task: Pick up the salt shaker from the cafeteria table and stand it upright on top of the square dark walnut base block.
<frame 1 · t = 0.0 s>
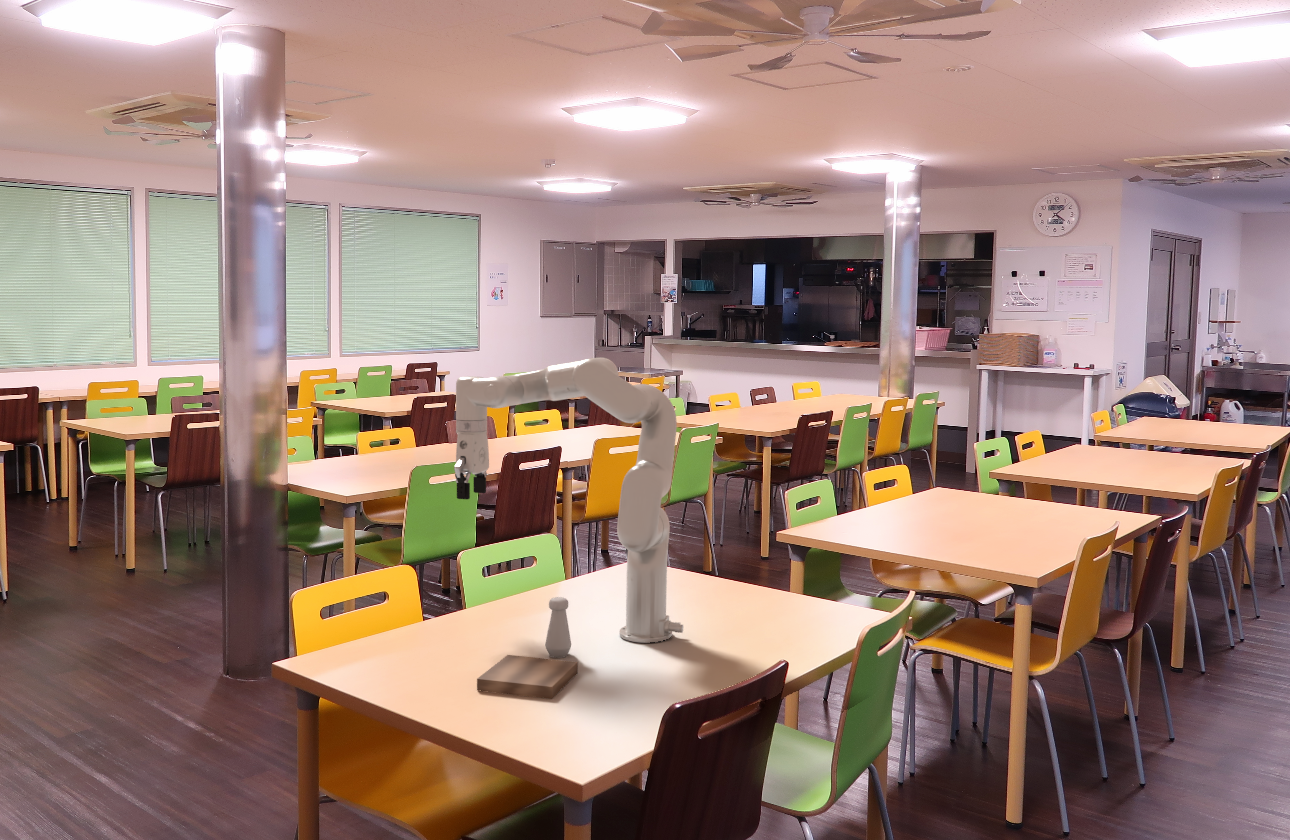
hand: (471, 495, 256), 31 cm above the table, tool pointing down, fingers open, 9 cm apart
salt shaker: (558, 656, 232), on the table
walnut base: (528, 684, 215), on the table
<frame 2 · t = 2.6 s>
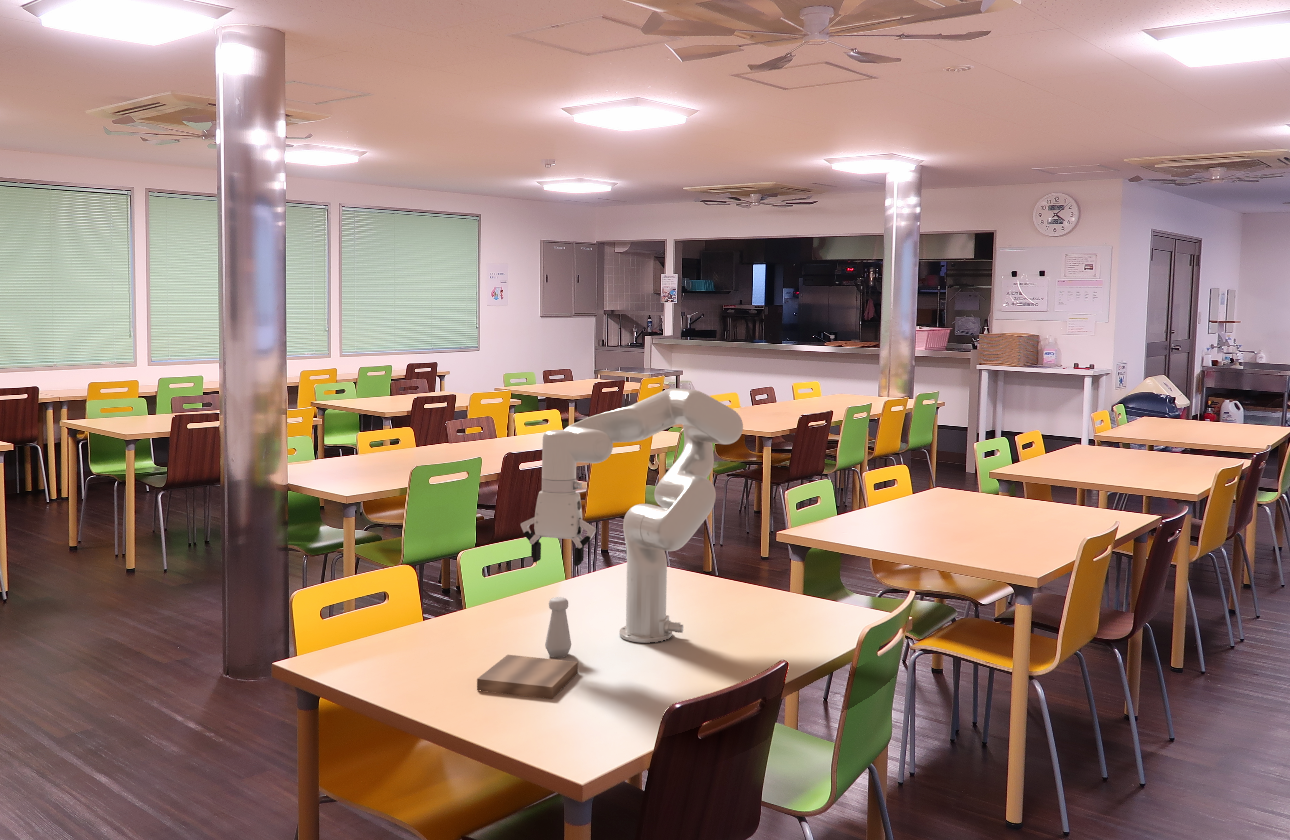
hand: (557, 562, 230), 21 cm above the table, tool pointing down, fingers open, 9 cm apart
nothing on the table moved.
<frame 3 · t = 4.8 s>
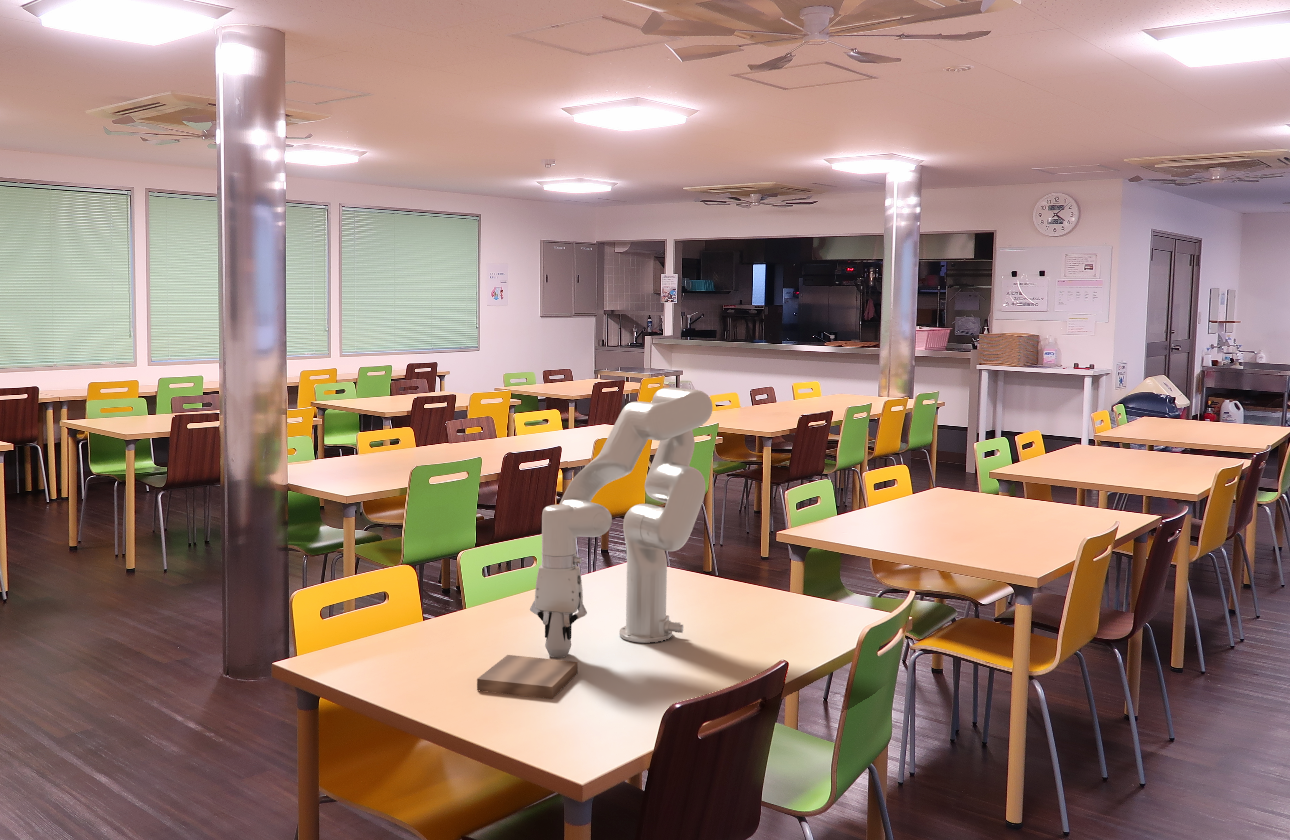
hand: (558, 641, 232), 3 cm above the table, tool pointing down, fingers closed on salt shaker, 3 cm apart
salt shaker: (558, 656, 232), on the table, touching gripper
everything else where it was.
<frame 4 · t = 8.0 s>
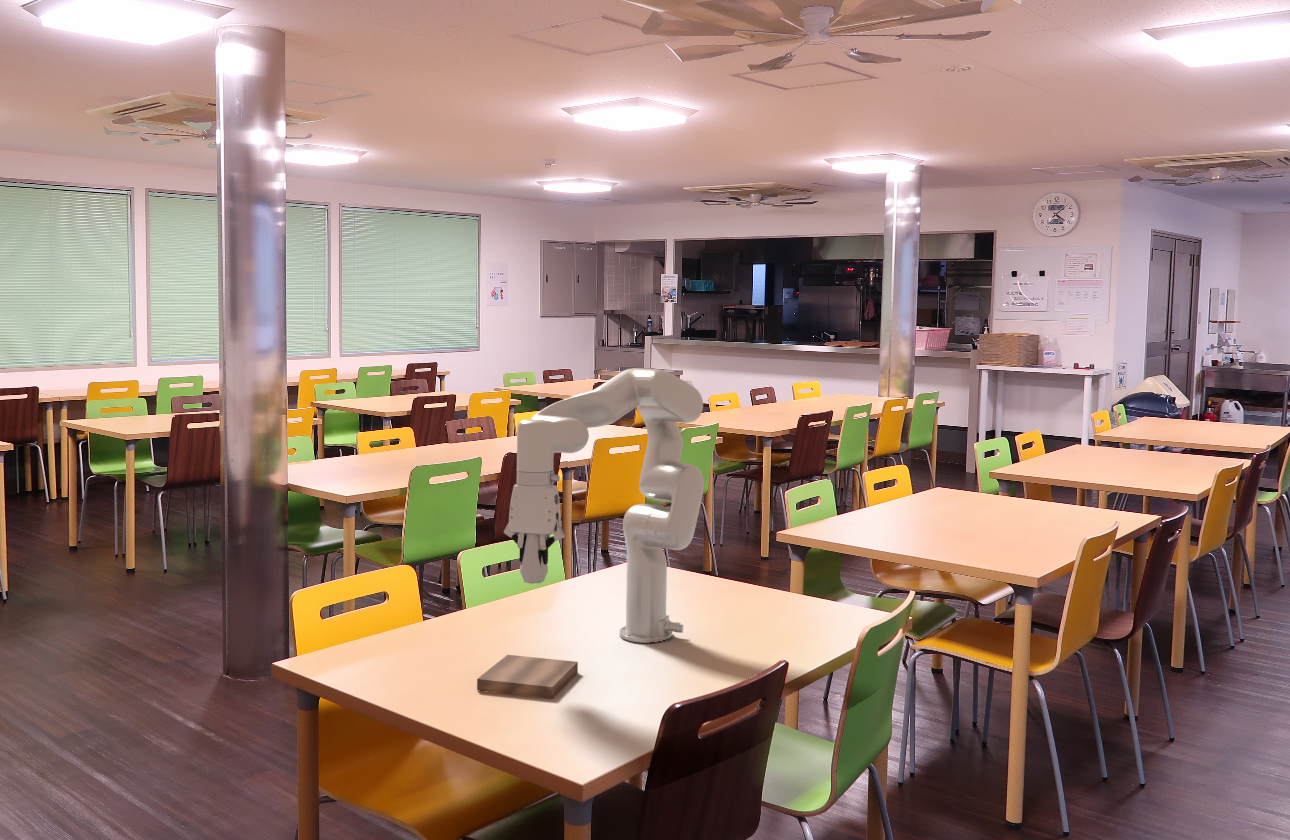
hand: (533, 566, 215), 24 cm above the table, tool pointing down, fingers closed on salt shaker, 3 cm apart
salt shaker: (533, 582, 216), point 20 cm above the table, touching gripper
everything else where it was.
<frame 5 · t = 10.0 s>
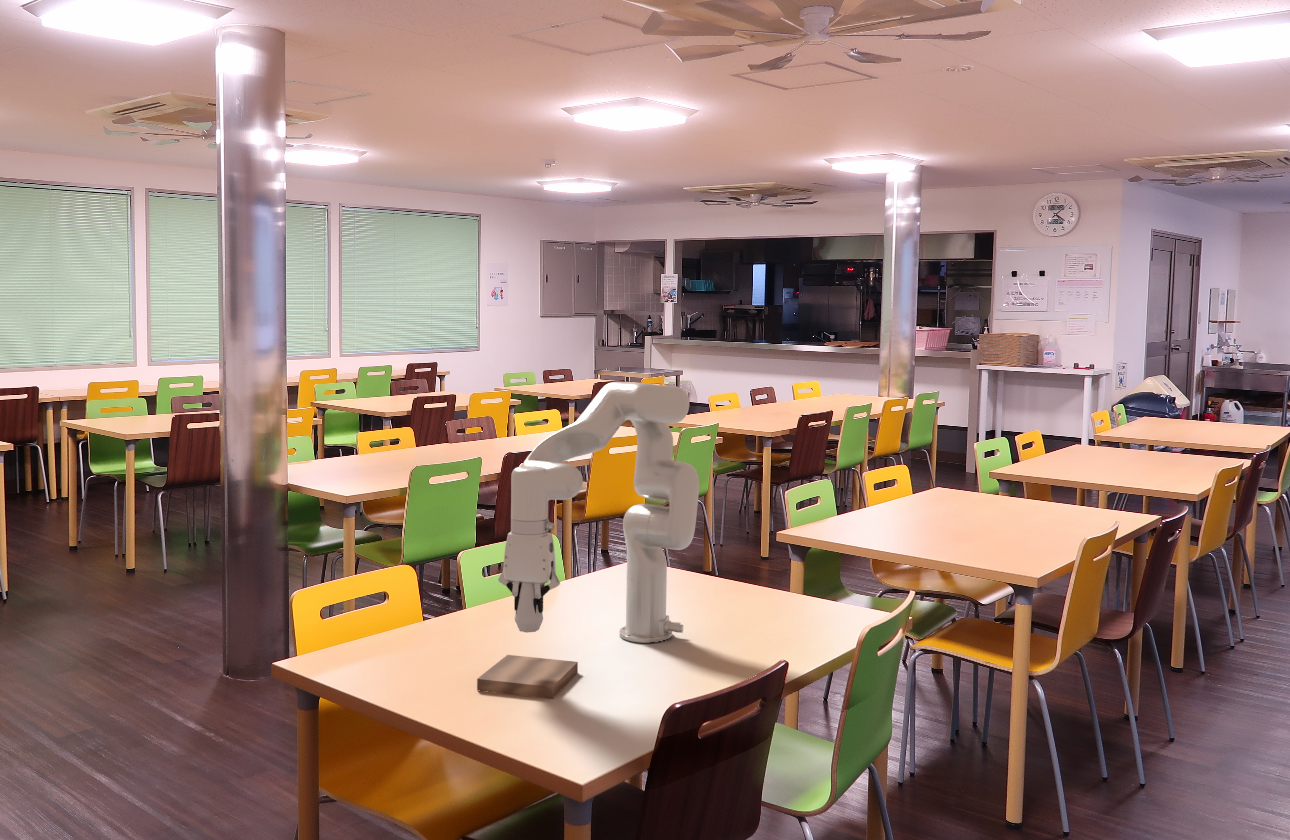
hand: (528, 614, 213), 14 cm above the table, tool pointing down, fingers closed on salt shaker, 3 cm apart
salt shaker: (528, 630, 214), point 11 cm above the table, touching gripper
everything else where it was.
when the fingers open (8 cm above the table, at t = 11.5 s): salt shaker drops 2 cm, point 2 cm above the table.
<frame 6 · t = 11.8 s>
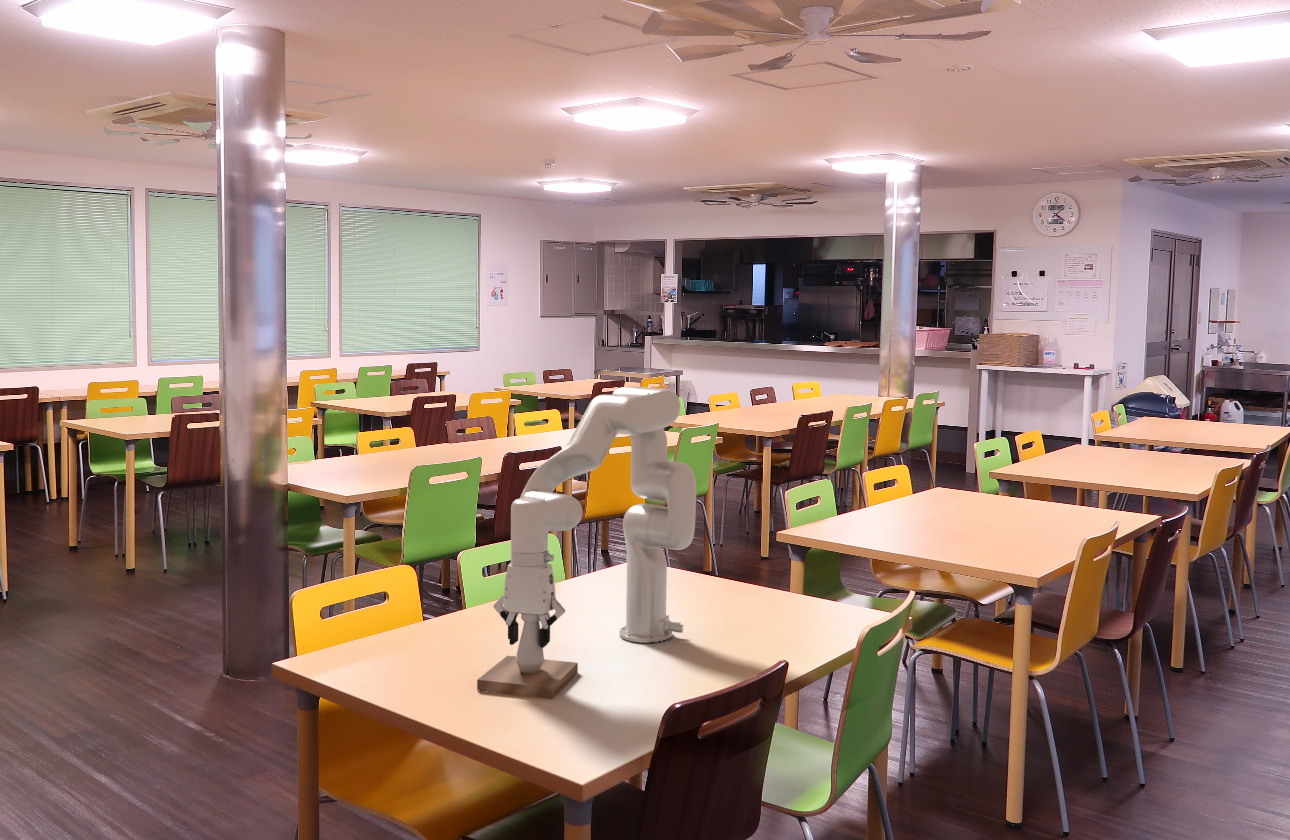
hand: (528, 643, 214), 8 cm above the table, tool pointing down, fingers open, 6 cm apart
salt shaker: (529, 671, 215), point 2 cm above the table
everything else where it was.
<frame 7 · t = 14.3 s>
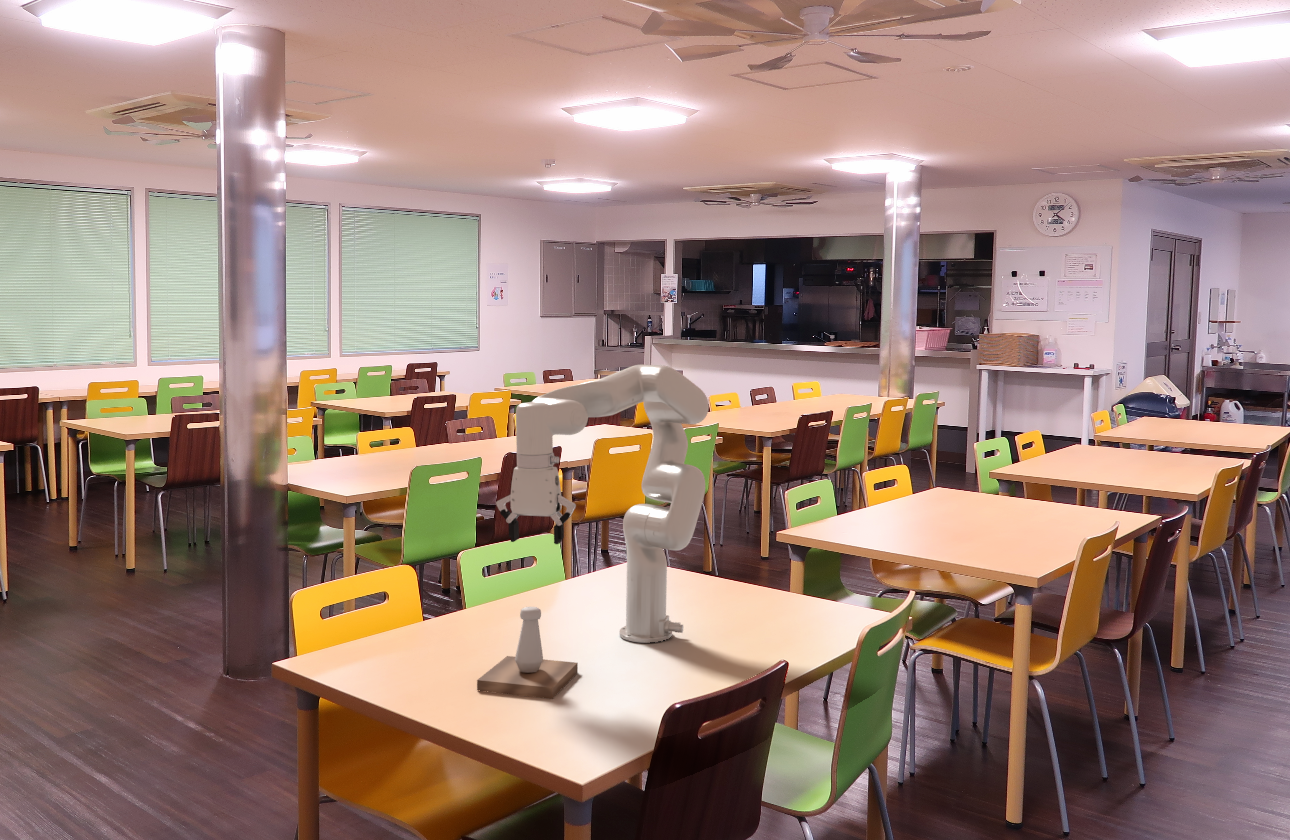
hand: (536, 541, 219), 28 cm above the table, tool pointing down, fingers open, 9 cm apart
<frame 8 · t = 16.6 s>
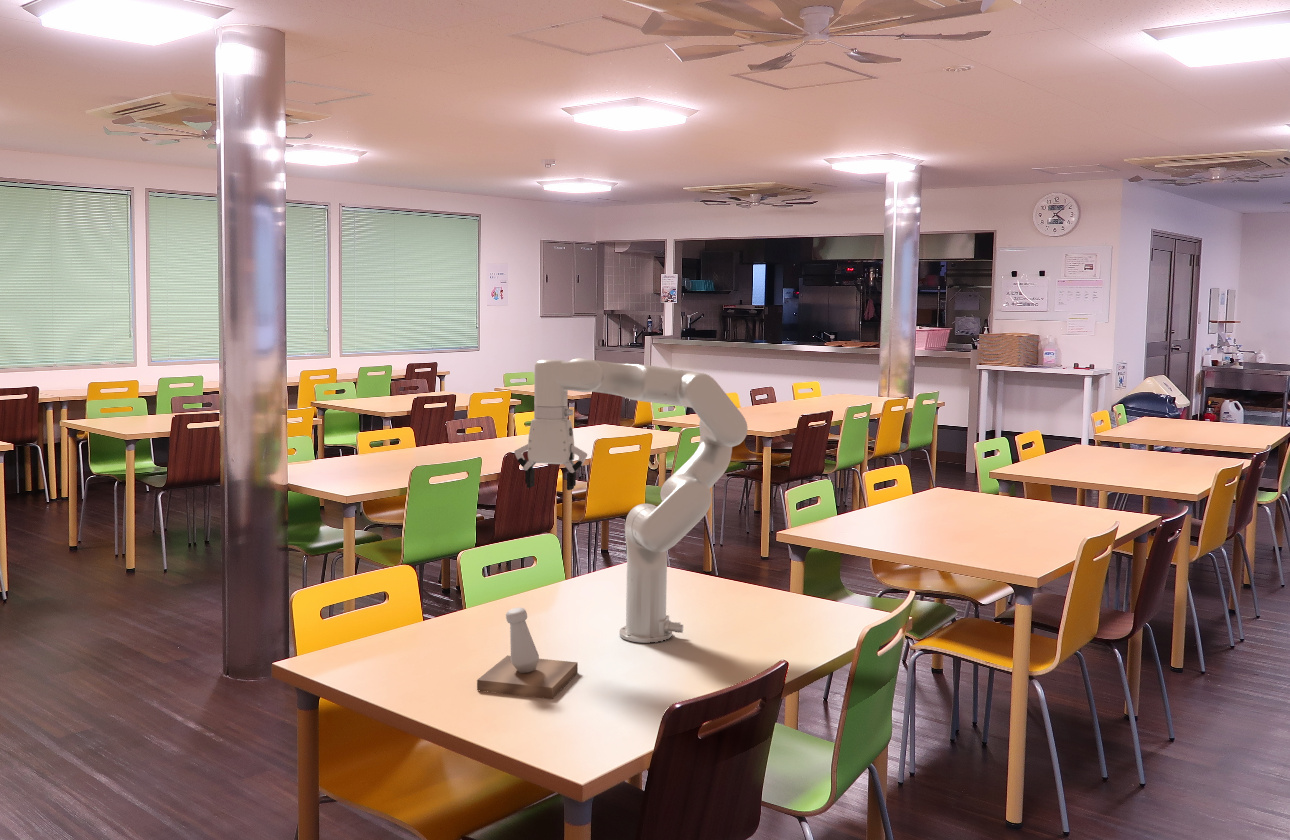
hand: (550, 488, 238), 36 cm above the table, tool pointing down, fingers open, 9 cm apart
salt shaker: (527, 669, 215), point 2 cm above the table, touching walnut base
walnut base: (528, 684, 215), on the table, touching salt shaker
at the end: salt shaker inside the target area on the walnut base (0.3 cm from its centre), point 3.2 cm above the walnut base's base; salt shaker tilted 11°; the gripper is holding nothing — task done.
